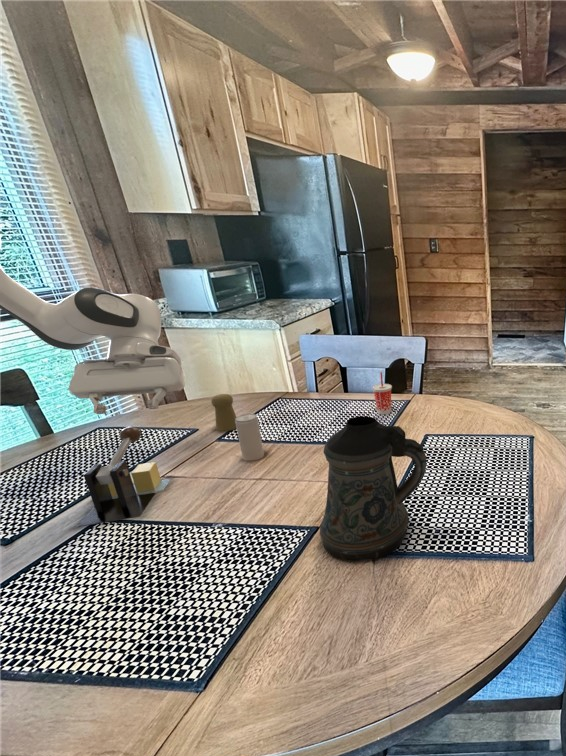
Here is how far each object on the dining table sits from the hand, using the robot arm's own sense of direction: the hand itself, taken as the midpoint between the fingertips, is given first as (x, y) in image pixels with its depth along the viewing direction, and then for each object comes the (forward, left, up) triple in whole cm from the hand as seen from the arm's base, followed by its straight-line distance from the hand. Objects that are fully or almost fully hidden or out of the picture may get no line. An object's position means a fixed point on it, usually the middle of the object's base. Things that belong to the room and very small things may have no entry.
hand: (126, 410), depth 93 cm
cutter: (0, -14, -18) cm, 22 cm away
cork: (+12, +24, -18) cm, 32 cm away
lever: (0, -7, -9) cm, 11 cm away
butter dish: (0, -6, -18) cm, 19 cm away
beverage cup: (+57, +24, -18) cm, 64 cm away
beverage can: (+22, +2, -18) cm, 28 cm away
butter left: (-3, -6, -17) cm, 18 cm away
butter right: (+3, -6, -17) cm, 18 cm away
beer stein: (+49, -38, -18) cm, 64 cm away
